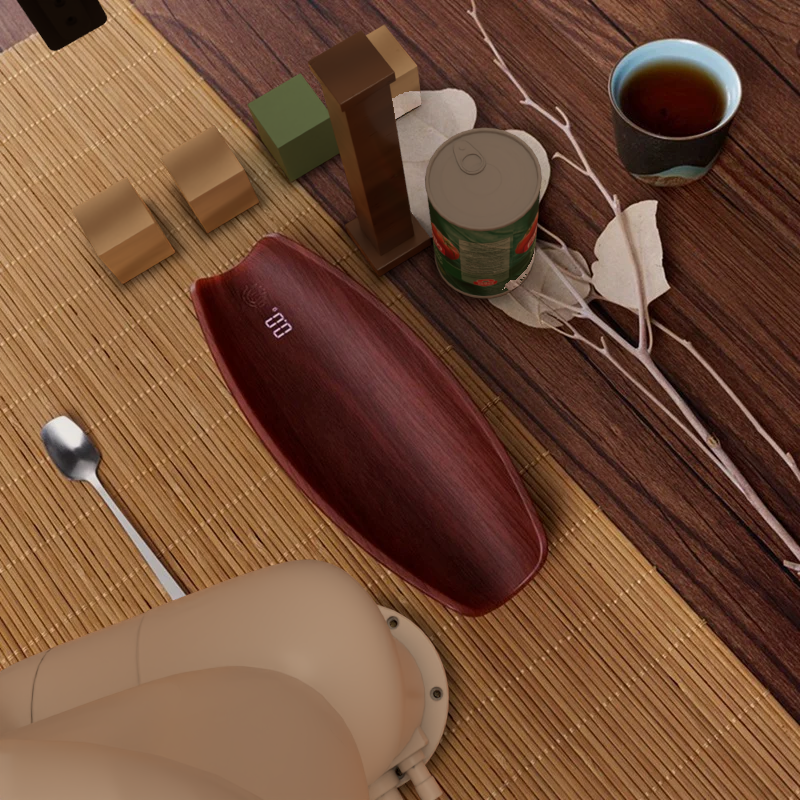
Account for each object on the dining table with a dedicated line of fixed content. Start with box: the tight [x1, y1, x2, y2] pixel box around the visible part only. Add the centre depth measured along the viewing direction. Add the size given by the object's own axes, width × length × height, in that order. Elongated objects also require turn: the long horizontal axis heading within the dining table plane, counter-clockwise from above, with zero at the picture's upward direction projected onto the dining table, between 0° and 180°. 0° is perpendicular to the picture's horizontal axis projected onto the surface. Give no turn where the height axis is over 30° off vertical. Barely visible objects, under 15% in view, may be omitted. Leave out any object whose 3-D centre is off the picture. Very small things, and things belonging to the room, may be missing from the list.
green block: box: [246, 73, 340, 183], centre depth 75 cm, size 5×5×5 cm
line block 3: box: [365, 24, 421, 98], centre depth 76 cm, size 5×5×5 cm
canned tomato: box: [424, 127, 543, 300], centre depth 67 cm, size 8×8×11 cm
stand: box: [307, 30, 432, 278], centre depth 64 cm, size 5×5×21 cm
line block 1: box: [70, 176, 176, 285], centre depth 74 cm, size 5×5×5 cm
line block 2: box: [159, 124, 260, 234], centre depth 74 cm, size 5×5×5 cm
